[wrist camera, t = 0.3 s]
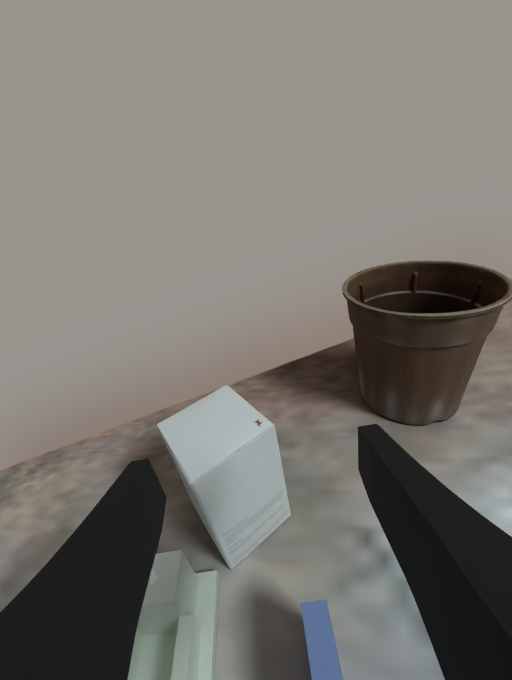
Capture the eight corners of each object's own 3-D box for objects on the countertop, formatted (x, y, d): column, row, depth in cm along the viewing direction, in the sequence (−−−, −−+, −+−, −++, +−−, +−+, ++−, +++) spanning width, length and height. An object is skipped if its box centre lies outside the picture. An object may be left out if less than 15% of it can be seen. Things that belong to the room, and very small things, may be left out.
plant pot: (329, 420, 38) (325, 307, 30) (355, 353, 50) (357, 260, 42) (485, 458, 30) (534, 320, 22) (471, 369, 42) (500, 258, 34)
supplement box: (250, 466, 34) (228, 381, 27) (293, 517, 28) (278, 424, 22) (193, 508, 30) (153, 422, 24) (228, 574, 25) (189, 485, 18)
